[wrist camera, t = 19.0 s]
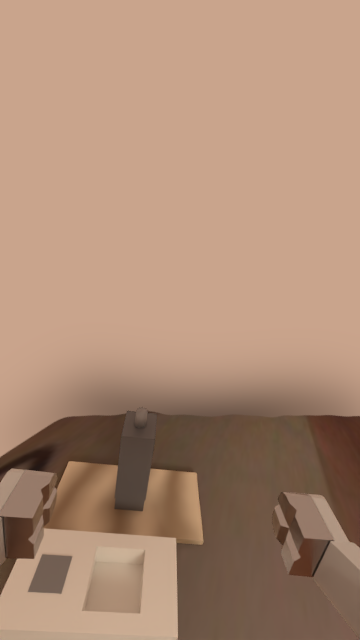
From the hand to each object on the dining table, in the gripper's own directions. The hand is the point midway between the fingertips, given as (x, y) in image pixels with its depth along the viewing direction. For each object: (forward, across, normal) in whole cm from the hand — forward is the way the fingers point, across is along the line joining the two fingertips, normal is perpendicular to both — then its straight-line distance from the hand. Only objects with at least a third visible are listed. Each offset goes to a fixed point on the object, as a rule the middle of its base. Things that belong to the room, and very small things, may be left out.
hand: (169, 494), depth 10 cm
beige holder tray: (+10, +4, +28) cm, 30 cm away
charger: (+21, +2, +28) cm, 35 cm away
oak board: (+21, +2, +28) cm, 35 cm away
